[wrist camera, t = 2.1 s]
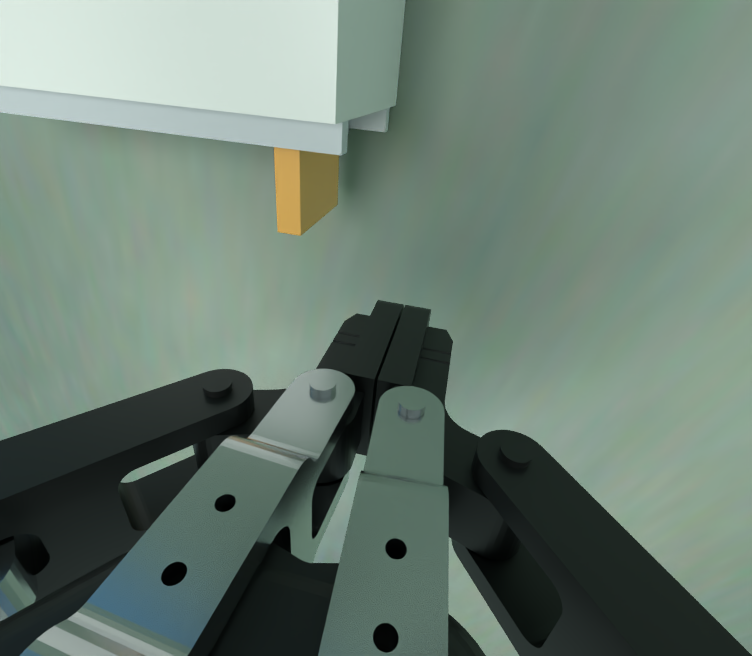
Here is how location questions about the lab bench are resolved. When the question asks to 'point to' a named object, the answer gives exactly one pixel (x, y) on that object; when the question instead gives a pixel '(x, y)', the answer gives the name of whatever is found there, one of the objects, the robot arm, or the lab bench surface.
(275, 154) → the side door
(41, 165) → the lab bench surface
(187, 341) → the lab bench surface
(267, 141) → the camera housing
